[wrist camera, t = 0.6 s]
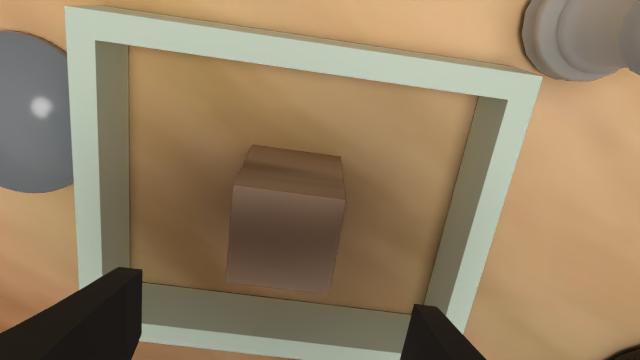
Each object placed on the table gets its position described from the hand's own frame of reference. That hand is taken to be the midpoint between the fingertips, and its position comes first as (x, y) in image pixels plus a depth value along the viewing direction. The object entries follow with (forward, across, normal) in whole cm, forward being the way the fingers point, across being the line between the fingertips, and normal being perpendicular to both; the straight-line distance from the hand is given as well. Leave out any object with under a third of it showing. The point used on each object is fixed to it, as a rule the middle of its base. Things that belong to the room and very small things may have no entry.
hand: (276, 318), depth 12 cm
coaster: (+10, +12, -2) cm, 16 cm away
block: (+10, 0, 0) cm, 10 cm away
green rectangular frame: (+10, 0, 0) cm, 10 cm away
